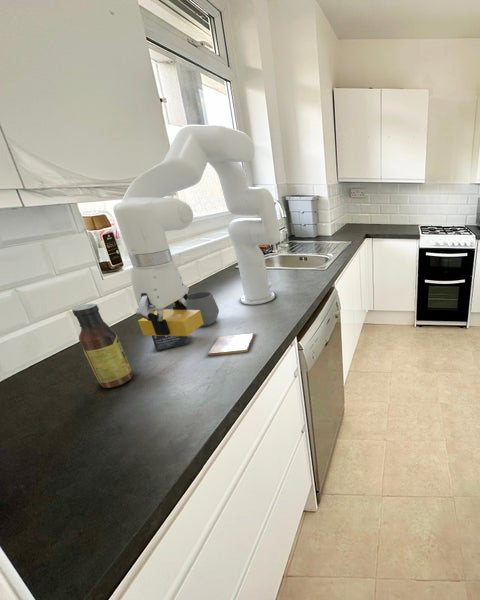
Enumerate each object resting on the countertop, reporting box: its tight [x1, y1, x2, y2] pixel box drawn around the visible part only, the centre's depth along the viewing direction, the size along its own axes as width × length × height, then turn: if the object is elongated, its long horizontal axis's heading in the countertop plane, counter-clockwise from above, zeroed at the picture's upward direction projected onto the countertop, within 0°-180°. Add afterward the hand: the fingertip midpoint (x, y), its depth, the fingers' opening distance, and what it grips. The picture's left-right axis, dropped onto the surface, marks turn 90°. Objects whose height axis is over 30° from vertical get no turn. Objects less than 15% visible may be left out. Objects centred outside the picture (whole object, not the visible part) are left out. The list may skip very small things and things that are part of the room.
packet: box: [137, 308, 204, 337], centre depth 78 cm, size 6×11×4 cm, turn 88°
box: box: [151, 306, 190, 352], centre depth 91 cm, size 8×6×11 cm
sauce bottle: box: [71, 303, 133, 389], centre depth 72 cm, size 7×6×20 cm
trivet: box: [207, 332, 255, 357], centre depth 92 cm, size 10×10×1 cm
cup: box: [185, 291, 220, 327], centre depth 104 cm, size 10×9×10 cm
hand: (173, 326), depth 78 cm, fingers closed on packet, 6 cm apart
